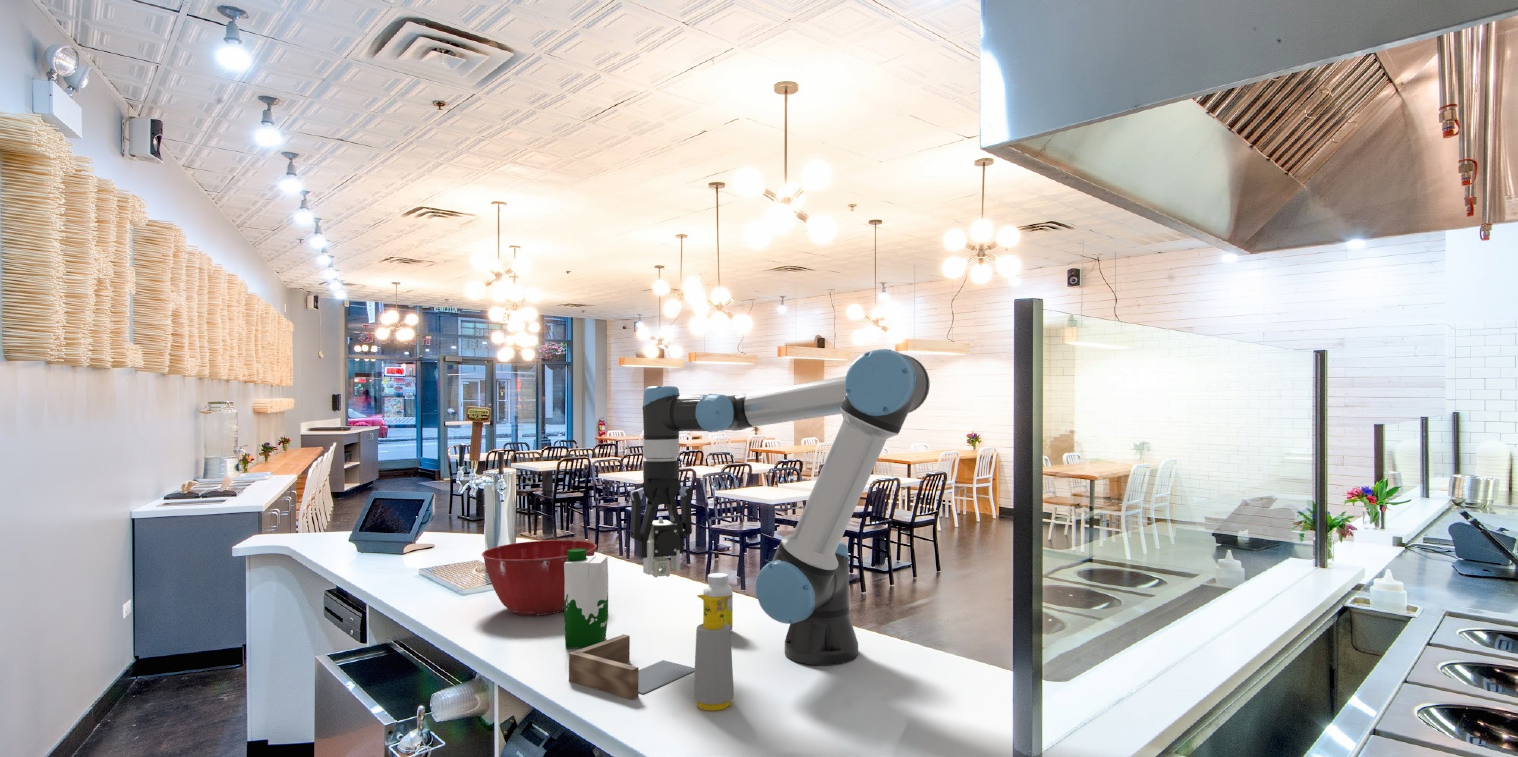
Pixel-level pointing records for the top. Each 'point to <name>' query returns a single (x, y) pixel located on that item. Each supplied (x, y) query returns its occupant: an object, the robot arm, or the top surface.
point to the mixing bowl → (531, 574)
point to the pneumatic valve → (663, 545)
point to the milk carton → (585, 598)
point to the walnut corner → (606, 667)
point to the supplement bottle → (722, 591)
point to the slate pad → (660, 675)
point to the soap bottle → (713, 661)
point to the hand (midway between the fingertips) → (661, 571)
